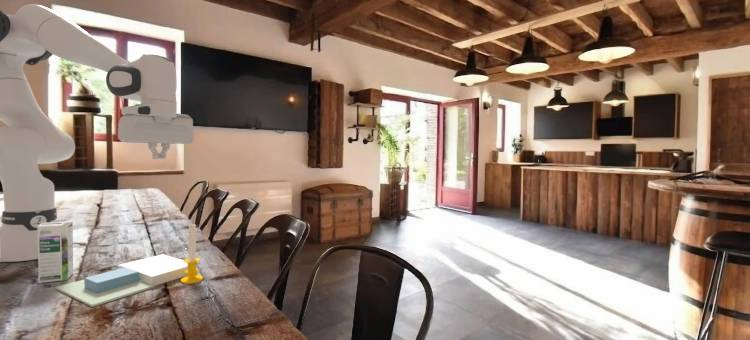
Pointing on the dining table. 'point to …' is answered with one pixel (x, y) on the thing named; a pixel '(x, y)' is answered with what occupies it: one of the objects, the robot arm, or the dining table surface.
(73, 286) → the mat
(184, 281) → the candle
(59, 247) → the syrup box
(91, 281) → the tile
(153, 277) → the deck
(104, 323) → the dining table surface
